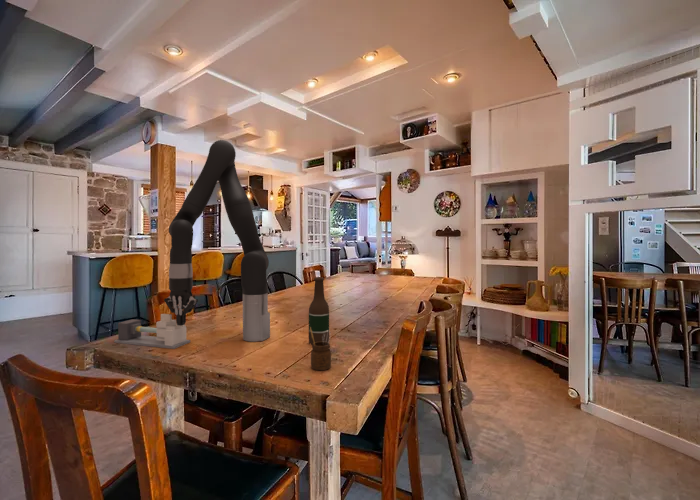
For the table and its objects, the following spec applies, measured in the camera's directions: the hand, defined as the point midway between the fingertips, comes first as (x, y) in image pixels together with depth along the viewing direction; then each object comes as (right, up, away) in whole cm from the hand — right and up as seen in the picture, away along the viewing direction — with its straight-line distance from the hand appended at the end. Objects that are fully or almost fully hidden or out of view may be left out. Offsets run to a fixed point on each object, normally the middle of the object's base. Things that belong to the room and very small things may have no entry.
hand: (181, 324), depth 123 cm
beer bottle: (+49, -8, +5) cm, 49 cm away
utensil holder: (+51, -8, -20) cm, 56 cm away
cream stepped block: (-6, -5, +2) cm, 8 cm away
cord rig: (-12, -7, +3) cm, 14 cm away
